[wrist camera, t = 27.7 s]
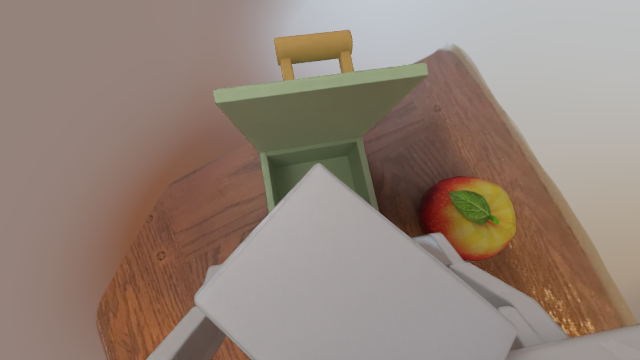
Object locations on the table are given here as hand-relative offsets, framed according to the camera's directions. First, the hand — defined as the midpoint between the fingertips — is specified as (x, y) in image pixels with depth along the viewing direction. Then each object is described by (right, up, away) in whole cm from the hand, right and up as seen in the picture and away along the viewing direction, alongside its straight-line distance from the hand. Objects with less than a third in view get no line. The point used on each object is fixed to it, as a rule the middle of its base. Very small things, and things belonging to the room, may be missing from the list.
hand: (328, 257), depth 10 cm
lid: (-1, +8, +10) cm, 13 cm away
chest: (-1, 0, +23) cm, 23 cm away
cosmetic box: (0, -2, +7) cm, 7 cm away
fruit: (+18, -2, +25) cm, 30 cm away
